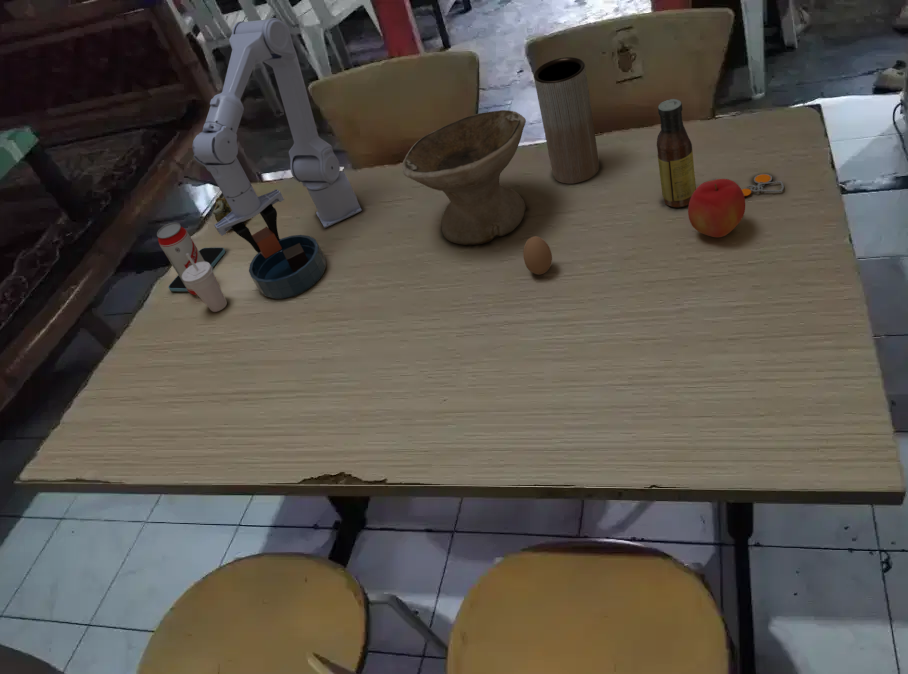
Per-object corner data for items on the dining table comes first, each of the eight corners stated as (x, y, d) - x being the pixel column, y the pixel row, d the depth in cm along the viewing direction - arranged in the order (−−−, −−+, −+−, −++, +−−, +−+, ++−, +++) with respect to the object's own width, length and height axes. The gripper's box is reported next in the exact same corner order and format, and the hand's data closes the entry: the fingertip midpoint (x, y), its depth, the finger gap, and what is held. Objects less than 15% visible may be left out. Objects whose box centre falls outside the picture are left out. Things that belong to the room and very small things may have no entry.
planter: (595, 153, 160) (580, 51, 145) (603, 177, 153) (588, 73, 138) (550, 165, 162) (530, 65, 146) (556, 189, 155) (536, 87, 139)
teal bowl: (316, 244, 164) (307, 225, 161) (335, 277, 153) (325, 259, 150) (253, 274, 162) (243, 256, 159) (267, 310, 151) (256, 292, 148)
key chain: (782, 173, 139) (782, 169, 138) (784, 196, 134) (784, 192, 134) (711, 179, 143) (711, 175, 143) (711, 201, 139) (710, 197, 138)
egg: (535, 284, 135) (527, 250, 130) (522, 271, 139) (514, 238, 133) (560, 272, 136) (552, 238, 130) (546, 259, 140) (538, 225, 134)
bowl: (518, 170, 164) (498, 85, 150) (563, 224, 146) (545, 133, 132) (412, 213, 163) (382, 132, 149) (444, 273, 145) (414, 187, 131)
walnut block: (306, 257, 160) (299, 242, 158) (311, 266, 157) (303, 251, 155) (290, 265, 160) (282, 250, 157) (294, 274, 157) (286, 259, 154)
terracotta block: (274, 241, 156) (266, 226, 153) (282, 248, 153) (273, 233, 150) (258, 251, 154) (249, 236, 152) (265, 258, 152) (257, 243, 149)
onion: (255, 221, 178) (239, 194, 173) (224, 236, 177) (208, 209, 172) (248, 209, 184) (233, 181, 178) (219, 223, 182) (202, 196, 177)
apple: (756, 234, 129) (757, 185, 122) (708, 255, 129) (707, 208, 122) (724, 209, 136) (724, 162, 129) (679, 229, 136) (676, 183, 129)
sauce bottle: (701, 192, 142) (697, 95, 128) (689, 211, 139) (684, 114, 125) (668, 188, 145) (661, 94, 131) (656, 207, 142) (647, 112, 128)
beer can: (222, 279, 164) (188, 221, 152) (207, 298, 160) (172, 240, 149) (200, 278, 166) (165, 220, 155) (184, 296, 162) (148, 238, 151)
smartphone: (225, 247, 172) (191, 288, 162) (227, 251, 172) (193, 292, 163) (201, 247, 174) (166, 288, 165) (203, 251, 175) (168, 292, 166)
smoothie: (225, 315, 154) (191, 263, 144) (199, 316, 156) (164, 265, 146) (237, 294, 158) (204, 243, 148) (212, 296, 160) (178, 245, 150)
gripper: (261, 165, 148) (289, 220, 157) (197, 201, 144) (230, 255, 153) (275, 176, 143) (303, 232, 152) (209, 213, 139) (242, 268, 149)
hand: (267, 244), depth 153 cm, fingers closed on terracotta block, 4 cm apart
